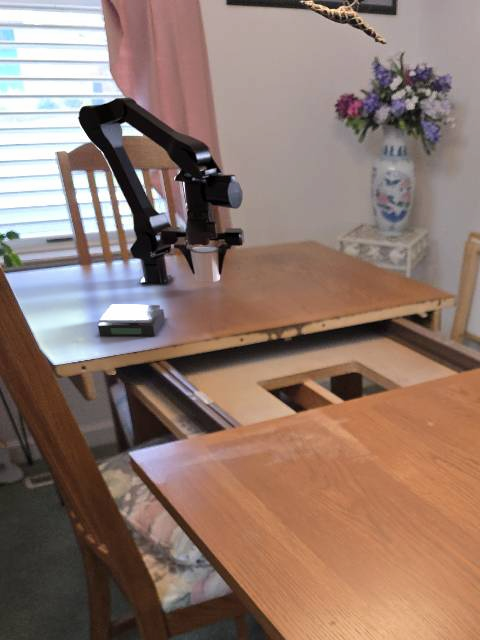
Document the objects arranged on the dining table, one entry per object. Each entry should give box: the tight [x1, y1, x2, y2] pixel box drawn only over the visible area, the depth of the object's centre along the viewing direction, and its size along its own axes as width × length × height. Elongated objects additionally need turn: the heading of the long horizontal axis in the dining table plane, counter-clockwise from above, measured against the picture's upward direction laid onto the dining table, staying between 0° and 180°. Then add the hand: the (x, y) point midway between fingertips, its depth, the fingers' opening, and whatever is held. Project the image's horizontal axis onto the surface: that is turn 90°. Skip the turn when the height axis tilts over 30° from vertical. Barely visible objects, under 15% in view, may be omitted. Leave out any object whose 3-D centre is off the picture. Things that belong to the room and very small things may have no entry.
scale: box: [97, 308, 166, 337], centre depth 149 cm, size 11×11×3 cm
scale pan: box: [99, 304, 161, 323], centre depth 148 cm, size 10×10×1 cm
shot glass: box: [190, 245, 221, 283], centre depth 170 cm, size 7×7×7 cm
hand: (207, 273), depth 171 cm, fingers closed on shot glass, 6 cm apart
